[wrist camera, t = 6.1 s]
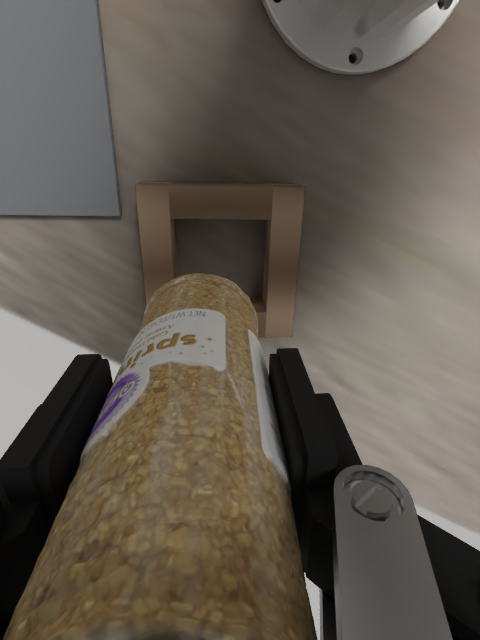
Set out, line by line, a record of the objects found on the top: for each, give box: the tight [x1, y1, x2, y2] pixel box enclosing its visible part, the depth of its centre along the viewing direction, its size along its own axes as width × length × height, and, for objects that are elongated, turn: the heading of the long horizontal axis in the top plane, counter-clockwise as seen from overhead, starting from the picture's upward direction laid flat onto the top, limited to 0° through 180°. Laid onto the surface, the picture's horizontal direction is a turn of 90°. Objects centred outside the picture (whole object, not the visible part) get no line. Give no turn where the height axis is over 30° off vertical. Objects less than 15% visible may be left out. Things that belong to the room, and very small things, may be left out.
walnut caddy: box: [135, 181, 305, 337], centre depth 26 cm, size 10×10×3 cm
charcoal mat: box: [0, 0, 122, 216], centre depth 23 cm, size 12×12×1 cm
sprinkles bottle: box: [3, 273, 317, 640], centre depth 9 cm, size 5×5×13 cm
